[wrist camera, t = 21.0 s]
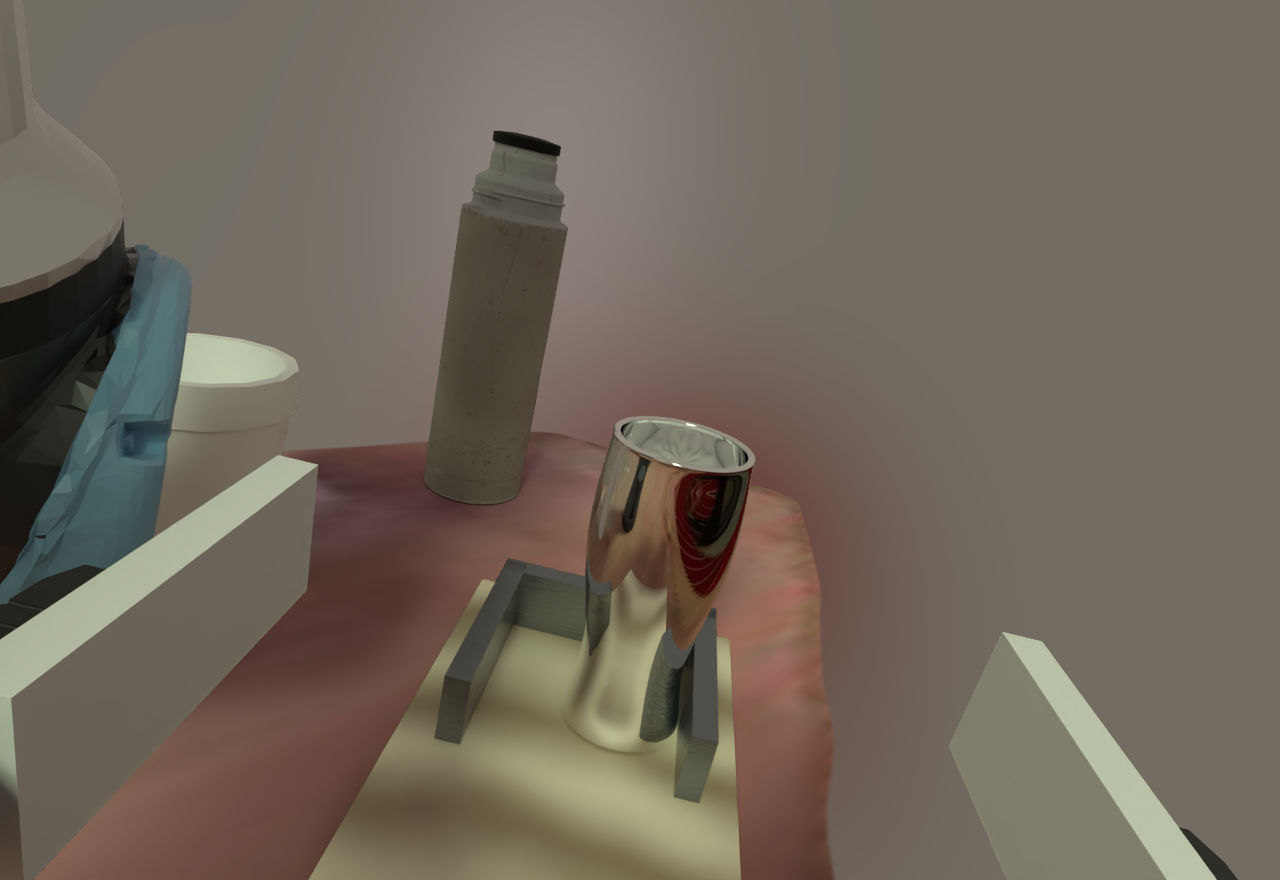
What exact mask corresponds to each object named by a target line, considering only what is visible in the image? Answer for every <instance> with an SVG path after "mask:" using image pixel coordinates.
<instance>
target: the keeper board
mask: <svg viewBox="0 0 1280 880" xmlns="http://www.w3.org/2000/svg"><path fill="white" fill-rule="evenodd" d="M494 583H495V582H493V581H488V580H484V579H483V580H482V581H481V583H480V585H479V586H478V588H477V590H476V592H475V593H474V595H473V597H472V599H471V600H470V602H469V604H468V605H467V607H466V609H465V611H464V612H463V614H462V616H461V618H460V619H459V621H458V623H457V624H456V626H455V628H454V630H453V631H452V633H451V635H450V637H449V638H448V640H447V642H446V643H445V645H444V647H443V649H442V650H441V652H440V654H439V655H438V657H437V659H436V661H435V662H434V664H433V666H432V668H431V669H430V671H429V673H428V674H427V676H426V678H425V680H424V681H423V683H422V685H421V687H420V688H419V690H418V692H417V693H416V695H415V697H414V699H413V700H412V702H411V704H410V706H409V707H408V709H407V711H406V712H405V714H404V716H403V718H402V719H401V721H400V723H399V724H398V726H397V728H396V730H395V731H394V733H393V735H392V737H391V738H390V740H389V742H388V743H387V745H386V747H385V749H384V750H383V752H382V754H381V756H380V757H379V759H378V761H377V762H376V764H375V766H374V768H373V769H372V771H371V773H370V775H369V776H368V778H367V780H366V781H365V783H364V785H363V787H362V788H361V790H360V792H359V793H358V795H357V797H356V799H355V800H354V802H353V804H352V806H351V807H350V809H349V811H348V812H347V814H346V816H345V818H344V819H343V821H342V823H341V825H340V826H339V828H338V830H337V831H336V833H335V835H334V837H333V838H332V840H331V842H330V844H329V845H328V847H327V849H326V850H325V852H324V854H323V856H322V857H321V859H320V861H319V862H318V864H317V866H316V868H315V869H314V871H313V873H312V875H311V876H310V878H309V880H741V868H740V847H739V827H738V806H737V785H736V764H735V744H734V723H733V702H732V681H731V661H730V640H729V639H727V638H722V637H718V636H717V681H718V732H719V743H718V746H717V749H716V753H715V756H714V759H713V762H712V765H711V768H710V771H709V775H708V778H707V781H706V784H705V787H704V790H703V793H702V796H701V800H700V803H695V802H691V801H687V800H683V799H679V798H675V797H674V779H675V762H676V744H677V727H676V730H675V732H674V733H673V735H672V737H671V738H670V739H669V740H668V741H667V742H666V743H664V744H663V745H661V746H659V747H657V748H655V749H652V750H649V751H645V752H638V753H624V752H617V751H612V750H608V749H605V748H602V747H599V746H597V745H595V744H593V743H591V742H589V741H587V740H586V739H584V738H583V737H581V736H580V735H579V734H578V733H577V732H576V731H575V730H574V729H573V728H572V727H571V726H570V725H569V724H568V722H567V721H566V719H565V717H564V715H563V712H562V707H561V697H562V693H563V689H564V687H565V684H566V682H567V679H568V677H569V675H570V673H571V671H572V668H573V666H574V664H575V662H576V659H577V656H578V654H579V650H580V646H581V641H577V640H573V639H569V638H565V637H561V636H557V635H553V634H549V633H545V632H540V631H536V630H532V629H528V628H524V627H520V626H516V625H513V627H512V629H511V631H510V634H509V636H508V638H507V640H506V643H505V645H504V647H503V649H502V652H501V654H500V656H499V658H498V660H497V663H496V665H495V667H494V669H493V672H492V674H491V676H490V678H489V681H488V683H487V685H486V687H485V689H484V692H483V694H482V696H481V698H480V701H479V703H478V705H477V707H476V710H475V712H474V714H473V716H472V718H471V721H470V723H469V725H468V727H467V730H466V732H465V734H464V736H463V739H462V741H461V743H460V745H459V744H455V743H451V742H447V741H443V740H439V739H435V738H434V737H435V731H436V724H437V718H438V712H439V706H440V700H441V694H442V688H443V682H444V676H445V674H446V672H447V670H448V668H449V666H450V664H451V663H452V661H453V659H454V657H455V655H456V653H457V652H458V650H459V648H460V646H461V644H462V642H463V641H464V639H465V637H466V635H467V633H468V631H469V630H470V628H471V626H472V624H473V622H474V620H475V618H476V617H477V615H478V613H479V611H480V609H481V607H482V606H483V604H484V602H485V600H486V598H487V596H488V595H489V593H490V591H491V589H492V587H493V585H494ZM677 726H678V723H677Z"/></svg>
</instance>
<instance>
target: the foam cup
mask: <svg viewBox="0 0 1280 880" xmlns="http://www.w3.org/2000/svg"><path fill="white" fill-rule="evenodd" d="M298 380H299V368H298V366H297V363H296V361H295V359H294V358H293V357H291V356H289V355H287V354H285V353H283V352H281V351H279V350H277V349H275V348H273V347H269V346H265V345H262V344H258V343H254V342H251V341H247V340H243V339H238V338H230V337H223V336H215V335H208V334H196V333H187V336H186V344H185V351H184V358H183V365H182V371H181V378H180V384H179V390H178V396H177V400H176V404H175V408H174V415H173V421H172V428H171V435H170V437H169V438H168V444H167V459H166V467H165V474H164V480H163V486H162V493H161V499H160V505H159V510H158V516H157V522H156V527H155V533H154V537H155V536H157V535H158V534H160V533H161V532H163V531H164V530H166V529H167V528H169V527H170V526H172V525H174V524H175V523H177V522H178V521H180V520H181V519H183V518H184V517H186V516H187V515H189V514H190V513H192V512H193V511H195V510H196V509H198V508H199V507H201V506H202V505H204V504H205V503H207V502H208V501H210V500H211V499H213V498H214V497H216V496H217V495H219V494H220V493H222V492H223V491H225V490H226V489H228V488H229V487H231V486H232V485H234V484H235V483H237V482H238V481H240V480H241V479H243V478H244V477H246V476H247V475H249V474H250V473H252V472H253V471H255V470H256V469H258V468H259V467H261V466H262V465H264V464H265V463H267V462H268V461H270V460H271V459H273V458H274V457H276V456H277V455H280V456H282V453H283V448H284V444H285V440H286V435H287V431H288V426H289V422H290V417H291V413H293V412H294V411H295V410H296V407H297V393H298Z"/></svg>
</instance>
